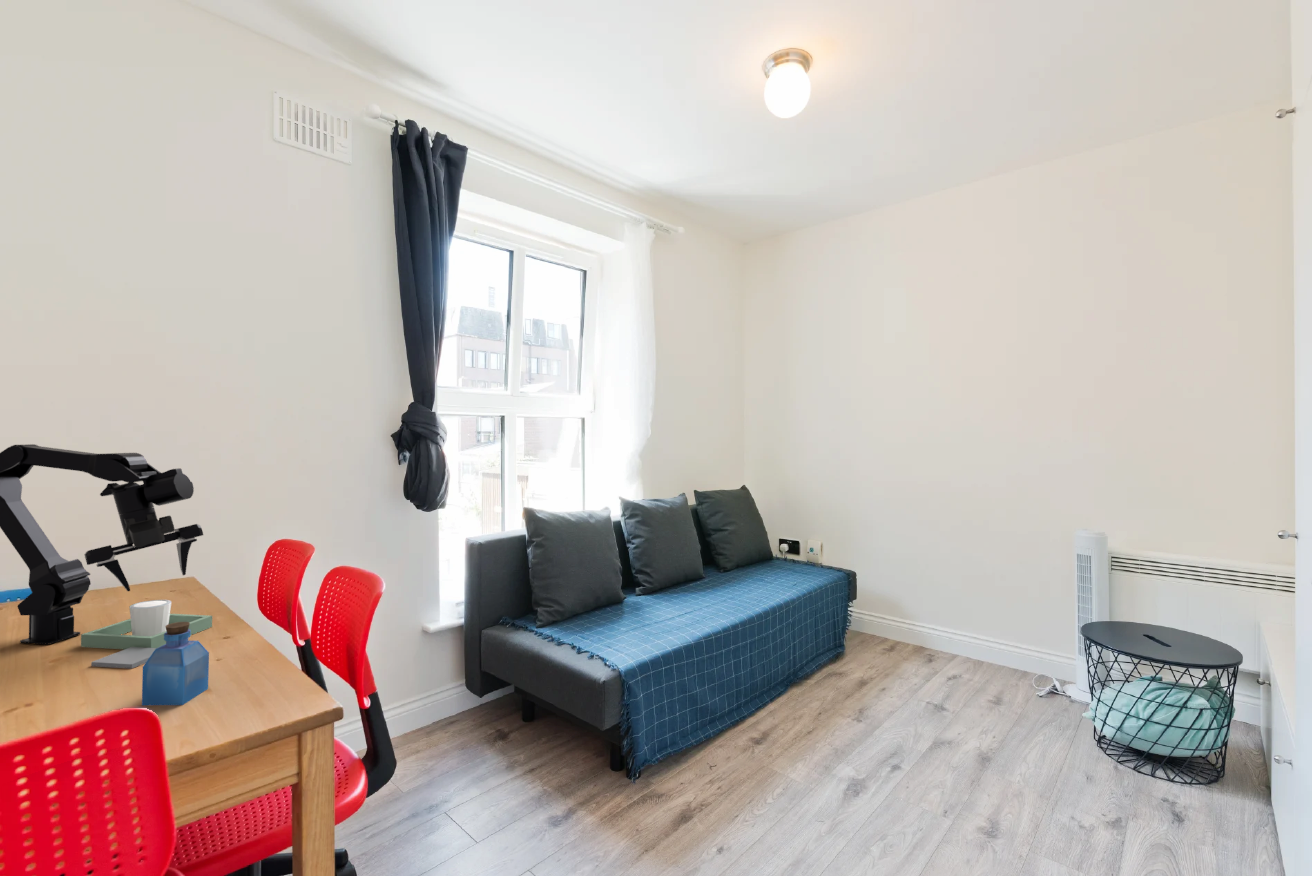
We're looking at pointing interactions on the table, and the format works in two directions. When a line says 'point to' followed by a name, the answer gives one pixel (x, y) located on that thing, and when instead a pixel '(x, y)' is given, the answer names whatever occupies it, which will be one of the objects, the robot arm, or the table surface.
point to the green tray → (115, 640)
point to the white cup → (150, 617)
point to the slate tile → (125, 658)
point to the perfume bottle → (175, 669)
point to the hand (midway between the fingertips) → (157, 582)
